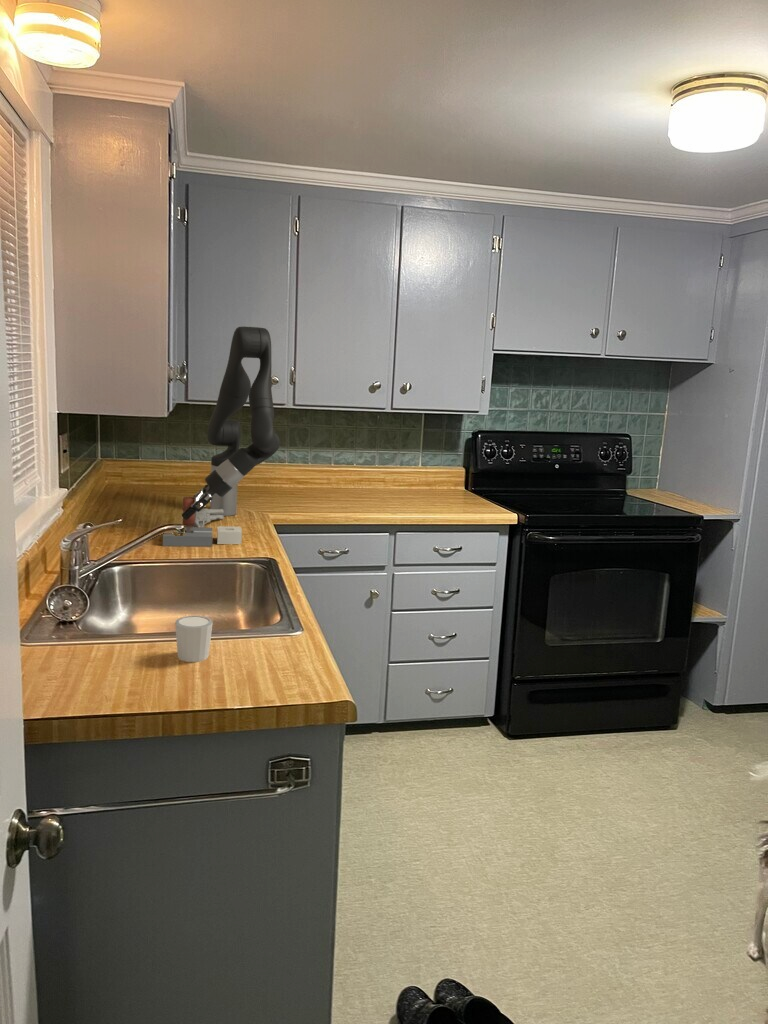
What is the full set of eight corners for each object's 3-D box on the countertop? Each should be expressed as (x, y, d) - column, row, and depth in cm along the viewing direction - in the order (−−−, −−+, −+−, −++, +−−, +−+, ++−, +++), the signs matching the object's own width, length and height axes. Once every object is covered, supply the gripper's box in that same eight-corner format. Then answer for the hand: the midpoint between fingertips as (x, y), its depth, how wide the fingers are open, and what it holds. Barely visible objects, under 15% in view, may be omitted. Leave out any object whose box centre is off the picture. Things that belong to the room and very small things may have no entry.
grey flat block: (164, 536, 234) (165, 526, 233) (212, 537, 237) (212, 527, 237) (162, 546, 223) (162, 535, 222) (212, 546, 226) (212, 536, 225)
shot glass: (182, 666, 141) (183, 629, 140) (168, 653, 146) (169, 618, 145) (217, 659, 145) (218, 624, 144) (203, 647, 150) (203, 613, 149)
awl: (182, 539, 231) (183, 496, 228) (194, 540, 232) (195, 497, 229) (182, 542, 228) (183, 499, 225) (194, 542, 229) (195, 499, 226)
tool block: (217, 539, 235) (217, 526, 234) (240, 539, 237) (240, 526, 236) (217, 544, 228) (217, 531, 228) (241, 545, 230) (241, 532, 229)
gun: (188, 533, 234) (190, 508, 234) (217, 530, 264) (219, 507, 264) (194, 534, 234) (196, 509, 234) (223, 530, 264) (225, 508, 264)
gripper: (215, 464, 234) (175, 500, 234) (216, 472, 220) (174, 510, 220) (232, 482, 236) (193, 518, 236) (234, 491, 223) (192, 528, 222)
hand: (184, 514), depth 228 cm, fingers open, 8 cm apart
